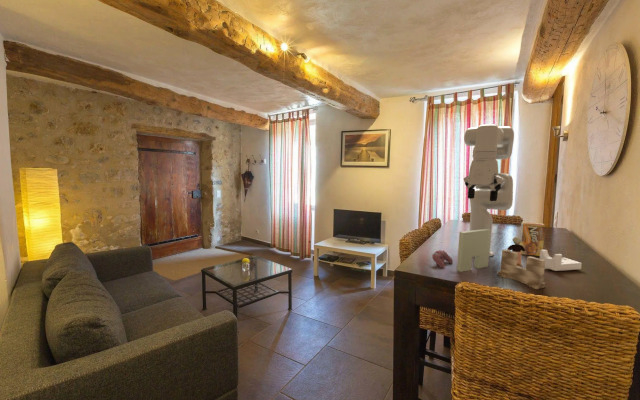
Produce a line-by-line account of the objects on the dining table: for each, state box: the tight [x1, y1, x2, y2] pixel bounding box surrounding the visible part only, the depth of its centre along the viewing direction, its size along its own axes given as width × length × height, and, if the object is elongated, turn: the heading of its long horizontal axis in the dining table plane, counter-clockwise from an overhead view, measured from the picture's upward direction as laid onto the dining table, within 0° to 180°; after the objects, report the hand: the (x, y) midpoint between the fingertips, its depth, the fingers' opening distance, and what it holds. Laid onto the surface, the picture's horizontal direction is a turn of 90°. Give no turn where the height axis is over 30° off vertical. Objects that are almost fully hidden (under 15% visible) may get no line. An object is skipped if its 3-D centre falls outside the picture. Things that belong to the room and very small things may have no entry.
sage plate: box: [456, 229, 492, 273], centre depth 119 cm, size 2×16×16 cm, turn 114°
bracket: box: [539, 249, 582, 272], centre depth 121 cm, size 13×7×8 cm, turn 101°
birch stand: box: [497, 249, 546, 290], centre depth 107 cm, size 14×5×10 cm, turn 24°
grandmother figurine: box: [506, 235, 527, 267], centre depth 124 cm, size 8×4×13 cm, turn 86°
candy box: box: [519, 221, 546, 257], centre depth 139 cm, size 9×4×15 cm, turn 68°
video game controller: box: [431, 249, 454, 269], centre depth 124 cm, size 10×5×7 cm, turn 135°
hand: (481, 199), depth 116 cm, fingers open, 9 cm apart
